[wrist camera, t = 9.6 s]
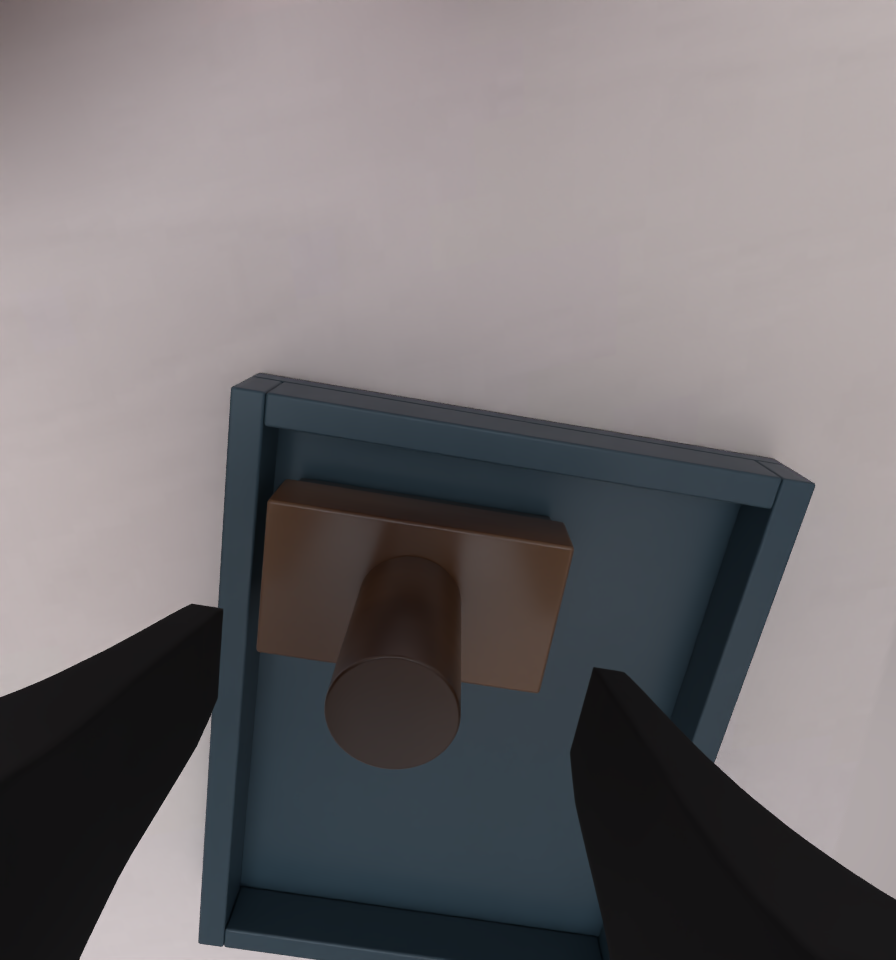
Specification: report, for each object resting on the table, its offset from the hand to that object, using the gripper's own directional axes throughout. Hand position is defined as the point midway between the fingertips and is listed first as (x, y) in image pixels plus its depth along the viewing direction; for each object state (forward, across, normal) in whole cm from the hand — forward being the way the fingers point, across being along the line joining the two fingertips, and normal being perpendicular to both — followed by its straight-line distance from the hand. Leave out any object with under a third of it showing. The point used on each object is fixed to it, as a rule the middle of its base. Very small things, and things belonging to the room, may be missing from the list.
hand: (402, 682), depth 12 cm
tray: (+6, -2, +4) cm, 8 cm away
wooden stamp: (+5, 0, 0) cm, 5 cm away
